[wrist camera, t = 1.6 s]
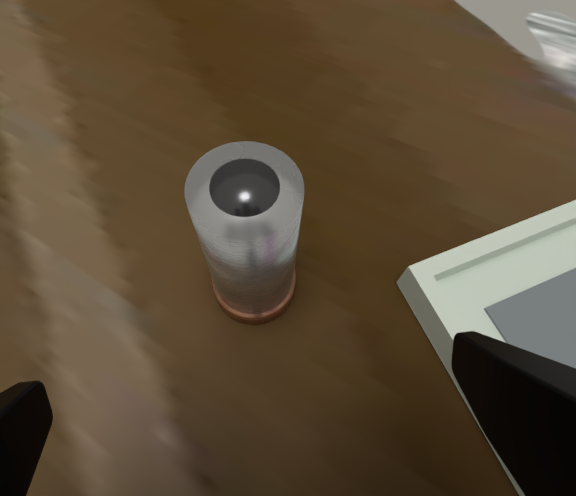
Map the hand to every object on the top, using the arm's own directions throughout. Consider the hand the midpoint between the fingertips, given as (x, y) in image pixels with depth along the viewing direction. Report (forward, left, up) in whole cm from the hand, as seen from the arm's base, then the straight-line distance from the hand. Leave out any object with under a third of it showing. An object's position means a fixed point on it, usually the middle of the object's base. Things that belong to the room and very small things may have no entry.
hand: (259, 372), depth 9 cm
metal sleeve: (+2, +7, -13) cm, 15 cm away
